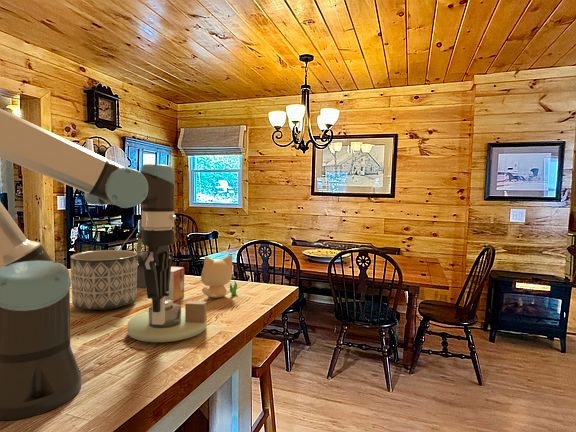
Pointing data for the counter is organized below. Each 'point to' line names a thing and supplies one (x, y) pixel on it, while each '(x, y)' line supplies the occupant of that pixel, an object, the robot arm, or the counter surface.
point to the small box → (176, 284)
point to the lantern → (140, 257)
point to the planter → (104, 279)
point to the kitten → (217, 276)
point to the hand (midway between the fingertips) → (158, 323)
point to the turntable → (189, 327)
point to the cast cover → (168, 315)
